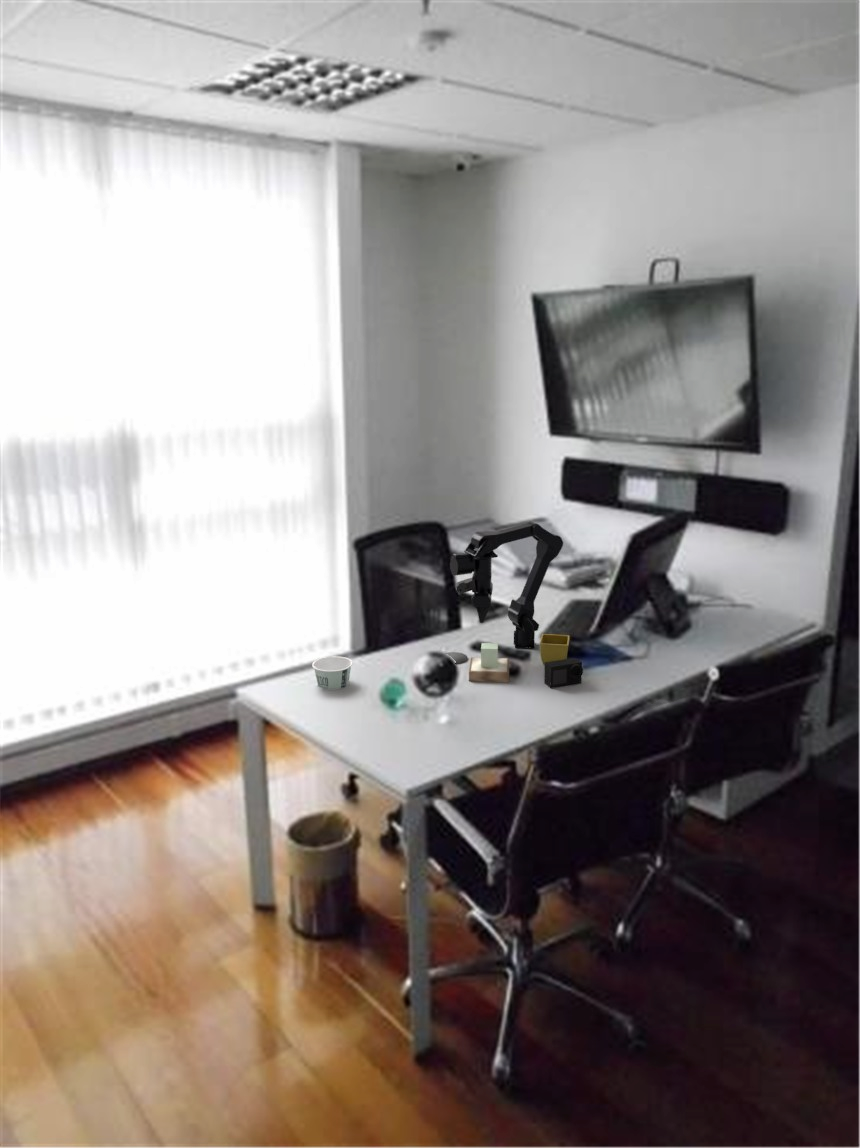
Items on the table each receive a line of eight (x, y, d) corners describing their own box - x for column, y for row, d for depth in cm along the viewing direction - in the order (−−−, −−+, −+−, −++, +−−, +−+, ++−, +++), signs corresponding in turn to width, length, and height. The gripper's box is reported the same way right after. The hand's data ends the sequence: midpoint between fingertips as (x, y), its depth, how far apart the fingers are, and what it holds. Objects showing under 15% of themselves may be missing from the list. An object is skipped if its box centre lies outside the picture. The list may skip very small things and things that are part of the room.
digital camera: (552, 690, 258) (553, 668, 256) (543, 683, 263) (544, 661, 261) (583, 685, 261) (584, 663, 260) (574, 678, 266) (575, 657, 264)
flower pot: (567, 672, 271) (568, 644, 269) (538, 670, 273) (539, 643, 270) (568, 662, 280) (569, 635, 277) (541, 660, 281) (541, 633, 279)
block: (497, 661, 272) (497, 643, 270) (497, 667, 267) (497, 649, 265) (481, 661, 272) (481, 642, 271) (480, 667, 267) (481, 648, 266)
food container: (361, 680, 267) (360, 660, 265) (337, 694, 257) (336, 673, 255) (329, 673, 272) (328, 653, 271) (305, 686, 263) (303, 666, 261)
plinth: (509, 667, 276) (509, 657, 275) (508, 682, 264) (509, 672, 263) (470, 666, 277) (470, 656, 276) (468, 681, 265) (468, 671, 264)
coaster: (468, 654, 287) (468, 652, 287) (466, 664, 278) (466, 662, 278) (440, 653, 288) (440, 651, 288) (438, 663, 279) (438, 661, 279)
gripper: (459, 563, 290) (459, 608, 294) (455, 579, 272) (455, 627, 277) (492, 564, 289) (492, 609, 293) (491, 579, 271) (490, 627, 275)
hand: (482, 618), depth 285 cm, fingers open, 9 cm apart
